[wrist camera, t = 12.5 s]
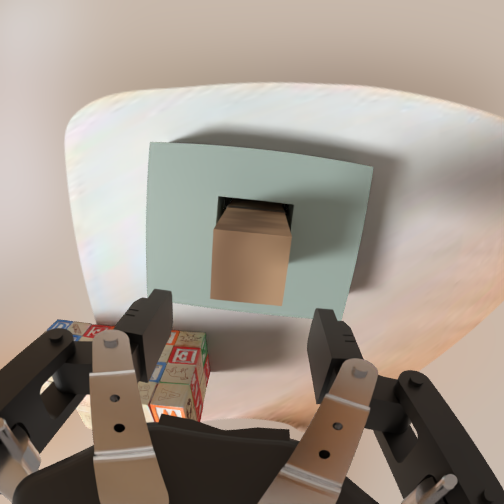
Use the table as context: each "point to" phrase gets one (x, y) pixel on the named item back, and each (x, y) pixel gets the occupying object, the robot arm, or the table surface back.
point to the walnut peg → (250, 253)
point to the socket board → (264, 189)
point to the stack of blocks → (159, 374)
